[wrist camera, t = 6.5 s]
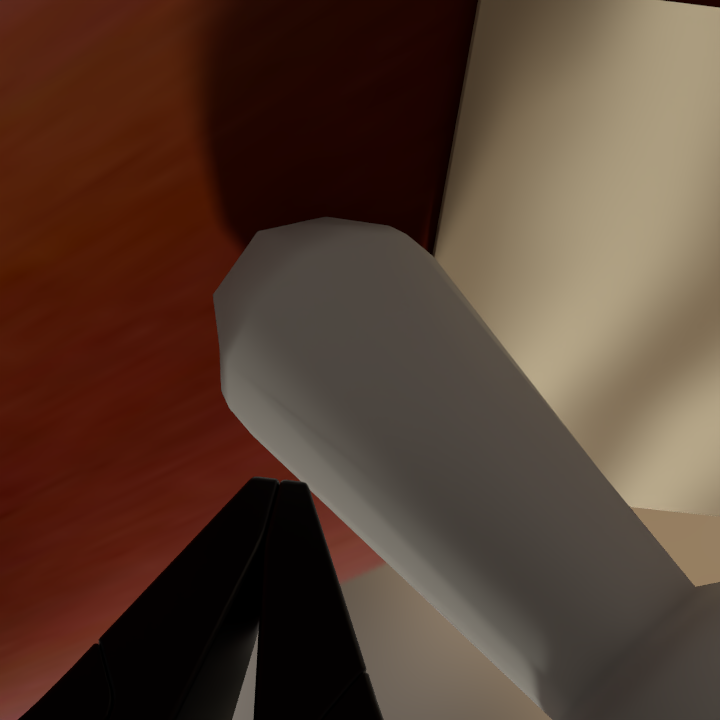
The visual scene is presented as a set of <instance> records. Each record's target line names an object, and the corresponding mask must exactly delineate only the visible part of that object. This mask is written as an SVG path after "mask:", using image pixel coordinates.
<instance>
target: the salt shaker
mask: <svg viewBox="0 0 720 720" xmlns="http://www.w3.org/2000/svg"><path fill="white" fill-rule="evenodd" d="M213 299H214V307H215V314H216V322H217V330H218V338H219V346H220V370H221V391H222V393H223V395H224V397H225V400H226V402H227V404H228V406H229V408H230V409H231V411H232V412H233V413H234V414H235V415H236V416H237V418H238V419H239V420H240V421H241V422H242V423H243V425H244V426H245V427H246V428H247V429H248V430H249V432H250V433H251V434H252V435H253V436H254V437H255V438H256V439H257V440H258V441H259V442H260V443H261V444H262V445H263V446H264V447H265V448H267V449H268V450H269V451H270V452H271V453H272V454H273V455H274V456H275V457H276V458H277V459H278V460H279V461H280V462H281V463H282V464H283V465H284V466H286V467H287V468H288V469H289V470H290V471H291V472H292V473H293V474H294V475H295V476H296V477H297V478H298V479H299V480H300V481H301V482H305V483H306V484H307V485H308V487H309V489H310V490H311V491H312V492H313V493H314V494H315V495H316V496H317V497H318V498H319V499H320V500H321V501H322V502H323V503H325V504H326V505H327V506H328V507H329V508H330V509H331V510H332V511H333V512H334V513H335V514H336V515H337V516H338V517H339V518H340V519H341V520H342V521H344V522H345V523H346V524H347V525H348V526H349V527H350V528H351V529H352V530H353V531H354V532H355V533H356V534H357V535H358V536H359V537H360V538H361V539H363V540H364V541H365V542H366V543H367V544H368V545H369V546H370V547H371V548H372V549H373V550H374V551H375V552H376V553H377V554H378V555H379V556H380V557H381V558H383V559H384V560H385V561H386V562H387V563H388V564H389V565H390V566H391V567H392V568H393V569H394V570H395V571H396V572H397V573H398V574H400V575H401V576H402V577H403V578H404V579H405V580H406V581H407V582H408V583H409V584H410V585H411V586H412V587H413V588H414V589H415V590H416V591H418V592H419V594H421V595H422V596H423V597H424V598H425V599H426V600H427V601H428V602H429V603H430V604H431V605H432V606H433V607H434V608H435V609H436V610H437V611H438V612H439V613H441V614H442V615H443V616H444V617H445V618H446V619H447V620H448V621H449V622H450V623H451V624H452V625H453V626H454V627H455V628H457V630H459V631H460V632H461V633H462V634H463V635H464V636H465V637H466V638H467V639H468V640H469V641H470V642H471V643H472V644H473V645H474V646H475V647H476V648H477V649H479V650H480V651H481V652H482V653H483V654H484V655H485V656H486V657H487V658H488V659H489V660H490V661H491V662H492V663H493V664H494V665H496V667H498V668H499V669H500V670H501V671H502V672H503V673H504V674H505V675H506V676H507V677H508V678H509V679H510V680H511V681H512V682H513V683H514V684H515V685H517V686H518V687H519V688H520V689H521V690H522V691H523V692H524V693H525V694H526V695H527V696H528V697H529V698H530V699H531V700H532V701H534V703H536V704H537V705H538V706H539V707H540V708H541V709H542V710H543V711H544V712H545V713H546V714H547V715H548V716H549V717H550V718H551V719H552V720H720V582H718V583H713V584H708V585H703V586H698V587H695V586H694V585H693V584H692V583H691V581H690V580H689V579H688V578H687V576H686V575H685V574H684V573H683V571H682V570H681V569H680V568H679V567H678V566H677V564H676V563H675V562H674V561H673V559H672V558H671V557H670V556H669V554H668V553H667V552H666V551H665V549H664V548H663V547H662V546H661V545H660V543H659V542H658V541H657V540H656V539H655V537H654V536H653V535H652V534H651V532H650V531H649V530H648V529H647V527H646V526H645V525H644V524H643V523H642V521H641V520H640V519H639V518H638V517H637V515H636V514H635V513H634V512H633V510H632V509H631V508H630V507H629V505H628V504H627V503H626V502H625V501H624V499H623V498H622V497H621V496H620V494H619V493H618V492H617V491H616V490H615V488H614V487H613V486H612V485H611V483H610V482H609V481H608V480H607V479H606V477H605V476H604V475H603V474H602V472H601V471H600V470H599V469H598V467H597V466H596V465H595V463H594V462H593V461H592V460H591V458H590V457H589V456H588V454H587V453H586V452H585V451H584V449H583V448H582V447H581V445H580V444H579V443H578V442H577V440H576V439H575V438H574V436H573V435H572V434H571V433H570V431H569V430H568V429H567V427H566V426H565V425H564V423H563V422H562V421H561V420H560V418H559V417H558V416H557V414H556V413H555V412H554V411H553V409H552V408H551V407H550V405H549V404H548V403H547V402H546V400H545V399H544V398H543V396H542V395H541V394H540V393H539V391H538V390H537V389H536V387H535V386H534V385H533V384H532V382H531V381H530V380H529V378H528V377H527V376H526V375H525V373H524V372H523V371H522V369H521V368H520V367H519V366H518V364H517V363H516V362H515V360H514V359H513V358H512V357H511V355H510V354H509V353H508V351H507V350H506V349H505V348H504V346H503V345H502V344H501V342H500V341H499V340H498V339H497V337H496V336H495V335H494V333H493V332H492V331H491V330H490V328H489V327H488V326H487V324H486V323H485V322H484V321H483V319H482V318H481V317H480V315H479V314H478V313H477V312H476V310H475V309H474V308H473V306H472V305H471V304H470V303H469V301H468V300H467V299H466V297H465V296H464V295H463V294H462V292H461V291H460V290H459V288H458V287H457V286H456V285H455V283H454V282H453V281H452V279H451V278H450V277H449V276H448V274H447V273H446V272H445V270H444V269H443V268H442V267H441V265H440V264H439V263H438V261H437V260H436V259H435V258H434V257H433V256H432V255H431V254H430V253H429V252H427V251H426V250H425V249H424V248H422V247H421V246H420V245H419V244H418V243H416V242H415V241H414V240H413V239H412V238H410V237H409V236H408V235H407V234H405V233H403V232H401V231H399V230H397V229H395V228H393V227H391V226H388V225H381V224H374V223H367V222H360V221H353V220H346V219H339V218H332V217H322V218H317V219H312V220H308V221H303V222H298V223H294V224H289V225H285V226H280V227H275V228H271V229H266V230H261V231H258V232H257V233H256V234H255V236H254V237H253V239H252V240H251V242H250V243H249V244H248V246H247V247H246V249H245V250H244V252H243V253H242V254H241V256H240V257H239V259H238V260H237V262H236V263H235V264H234V266H233V267H232V269H231V270H230V271H229V273H228V274H227V276H226V277H225V279H224V280H223V281H222V283H221V284H220V286H219V287H218V289H217V290H216V291H215V293H214V294H213Z"/></svg>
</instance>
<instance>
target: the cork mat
mask: <svg viewBox="0 0 720 720" xmlns="http://www.w3.org/2000/svg"><path fill="white" fill-rule="evenodd" d="M432 256H433V257H434V258H435V259H436V260H437V261H438V263H439V264H440V265H441V267H442V268H443V269H444V270H445V272H446V273H447V274H448V276H449V277H450V278H451V279H452V281H453V282H454V283H455V285H456V286H457V287H458V288H459V290H460V291H461V292H462V294H463V295H464V296H465V297H466V299H467V300H468V301H469V303H470V304H471V305H472V306H473V308H474V309H475V310H476V312H477V313H478V314H479V315H480V317H481V318H482V319H483V321H484V322H485V323H486V324H487V326H488V327H489V328H490V330H491V331H492V332H493V333H494V335H495V336H496V337H497V339H498V340H499V341H500V342H501V344H502V345H503V346H504V348H505V349H506V350H507V351H508V353H509V354H510V355H511V357H512V358H513V359H514V360H515V362H516V363H517V364H518V366H519V367H520V368H521V369H522V371H523V372H524V373H525V375H526V376H527V377H528V378H529V380H530V381H531V382H532V384H533V385H534V386H535V387H536V389H537V390H538V391H539V393H540V394H541V395H542V396H543V398H544V399H545V400H546V402H547V403H548V404H549V405H550V407H551V408H552V409H553V411H554V412H555V413H556V414H557V416H558V417H559V418H560V420H561V421H562V422H563V423H564V425H565V426H566V427H567V429H568V430H569V431H570V433H571V434H572V435H573V436H574V438H575V439H576V440H577V442H578V443H579V444H580V445H581V447H582V448H583V449H584V451H585V452H586V453H587V454H588V456H589V457H590V458H591V460H592V461H593V462H594V463H595V465H596V466H597V467H598V469H599V470H600V471H601V472H602V474H603V475H604V476H605V477H606V479H607V480H608V481H609V482H610V483H611V485H612V486H613V487H614V488H615V490H616V491H617V492H618V493H619V494H620V496H621V497H622V498H623V499H624V501H625V502H626V503H627V504H628V505H629V507H637V508H647V509H655V510H664V511H675V512H683V513H692V514H702V515H712V516H720V8H718V7H710V6H702V5H694V4H686V3H678V2H670V1H662V0H478V4H477V9H476V15H475V20H474V26H473V32H472V37H471V43H470V48H469V54H468V59H467V65H466V71H465V76H464V82H463V87H462V93H461V98H460V104H459V110H458V115H457V121H456V126H455V132H454V137H453V143H452V149H451V154H450V160H449V165H448V171H447V176H446V182H445V187H444V193H443V199H442V204H441V210H440V215H439V221H438V226H437V232H436V238H435V243H434V249H433V254H432Z"/></svg>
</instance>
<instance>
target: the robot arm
mask: <svg viewBox="0 0 720 720" xmlns="http://www.w3.org/2000/svg"><path fill="white" fill-rule="evenodd" d="M258 630H259V633H258ZM257 634H258V652H257V668H256V687H255V703H254V720H383V717H382V714H381V711H380V708H379V705H378V702H377V700H376V696H375V694H374V690H373V687H372V684H371V681H370V678H369V675H368V674H367V673H366V666H365V663H364V660H363V657H362V653H361V650H360V647H359V644H358V641H357V638H356V634H355V631H354V628H353V625H352V622H351V619H350V616H349V612H348V610H347V606H346V603H345V600H344V597H343V594H342V591H341V587H340V584H339V581H338V578H337V575H336V571H335V568H334V565H333V562H332V559H331V556H330V553H329V549H328V546H327V543H326V540H325V537H324V534H323V530H322V527H321V524H320V521H319V518H318V515H317V512H316V508H315V505H314V502H313V499H312V496H311V493H310V490H309V487H308V485H307V484H306V483H305V482H299V481H291V480H283V481H281V482H280V483H279V481H278V480H277V479H273V478H264V477H253V478H251V479H250V480H249V481H248V482H247V483H246V484H245V485H244V486H243V487H242V488H241V489H240V490H239V492H238V493H237V494H236V495H235V496H234V497H233V498H232V499H231V500H230V501H229V502H228V503H227V504H226V505H225V506H224V507H223V508H222V509H221V511H220V512H219V513H218V514H217V515H216V516H215V517H214V518H213V519H212V520H211V521H210V522H209V523H208V524H207V525H206V526H205V527H204V529H203V530H202V531H201V532H200V533H199V534H198V535H197V536H196V537H195V538H194V539H193V540H192V541H191V542H190V543H189V544H188V545H187V546H186V548H185V549H184V550H183V551H182V552H181V553H180V554H179V555H178V556H177V557H176V558H175V559H174V560H173V561H172V562H171V563H170V564H169V566H168V567H167V568H166V569H165V570H164V571H163V572H162V573H161V574H160V575H159V576H158V577H157V578H156V579H155V580H154V581H153V582H152V584H151V585H150V586H149V587H148V588H147V589H146V590H145V591H144V592H143V593H142V594H141V595H140V596H139V597H138V598H137V599H136V600H135V601H134V603H133V604H132V605H131V606H130V607H129V608H128V609H127V610H126V611H125V612H124V613H123V614H122V615H121V616H120V617H119V618H118V619H117V621H116V622H115V623H114V624H113V625H112V626H111V627H110V628H109V629H108V630H107V631H106V632H105V633H104V634H103V635H102V636H101V637H100V639H99V644H94V645H92V647H91V648H90V649H89V650H88V651H87V652H86V653H85V654H84V655H83V656H82V657H81V658H80V659H79V660H78V661H77V663H76V664H75V665H74V666H73V667H72V668H71V669H70V670H69V671H68V672H67V673H66V674H65V675H64V676H63V677H62V678H61V679H60V680H59V681H58V682H57V683H56V684H55V685H54V686H53V687H52V688H51V689H50V690H49V691H48V692H47V693H46V694H45V695H44V696H43V697H42V698H41V699H40V700H39V701H38V702H37V703H36V704H35V705H34V706H32V707H31V708H30V709H29V710H28V711H27V712H26V713H25V714H24V715H23V716H21V717H20V718H19V719H18V720H232V718H233V715H234V711H235V708H236V705H237V701H238V698H239V695H240V691H241V688H242V684H243V681H244V678H245V675H246V671H247V668H248V665H249V661H250V658H251V655H252V651H253V648H254V644H255V641H256V637H257Z"/></svg>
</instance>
